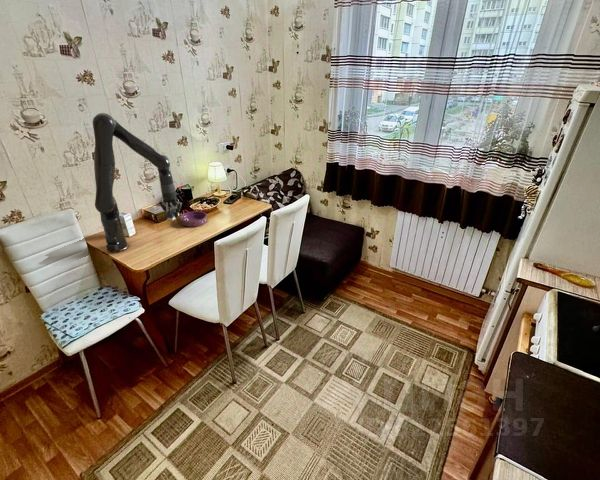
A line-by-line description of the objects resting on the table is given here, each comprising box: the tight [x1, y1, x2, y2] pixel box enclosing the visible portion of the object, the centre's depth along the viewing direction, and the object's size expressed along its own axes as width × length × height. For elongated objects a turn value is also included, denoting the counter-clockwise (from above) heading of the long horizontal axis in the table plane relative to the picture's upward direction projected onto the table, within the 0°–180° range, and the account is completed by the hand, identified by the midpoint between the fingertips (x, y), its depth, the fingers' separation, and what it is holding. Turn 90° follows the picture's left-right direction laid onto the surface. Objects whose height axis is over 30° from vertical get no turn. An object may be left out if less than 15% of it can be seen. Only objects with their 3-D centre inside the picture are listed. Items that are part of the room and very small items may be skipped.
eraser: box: [165, 208, 180, 221], centre depth 185 cm, size 8×4×4 cm, turn 173°
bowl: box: [180, 210, 208, 227], centre depth 214 cm, size 17×17×4 cm
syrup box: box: [119, 211, 137, 238], centre depth 193 cm, size 6×6×14 cm
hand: (173, 217), depth 186 cm, fingers closed on eraser, 3 cm apart
